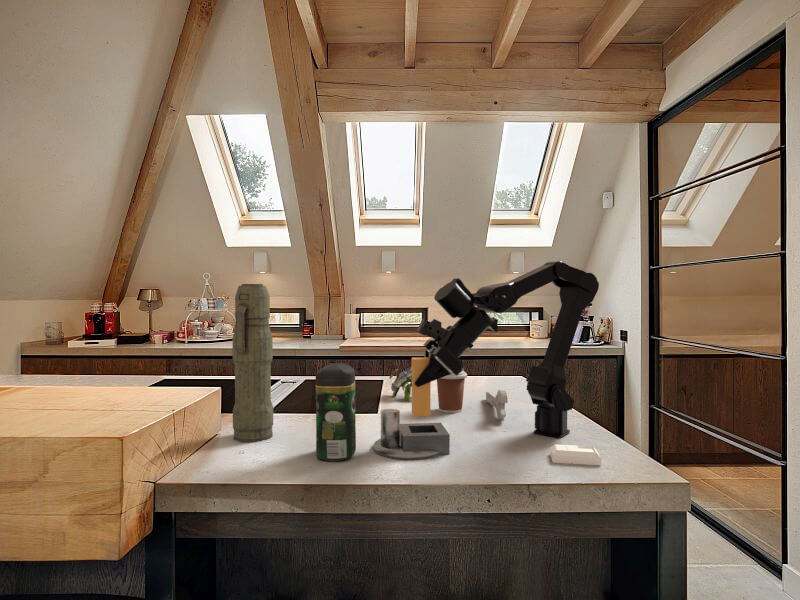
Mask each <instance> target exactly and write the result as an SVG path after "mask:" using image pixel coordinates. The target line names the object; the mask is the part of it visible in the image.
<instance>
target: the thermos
mask: <svg viewBox="0 0 800 600" xmlns="http://www.w3.org/2000/svg"><path fill="white" fill-rule="evenodd" d="M270 301H271V300H270V294H269V291H268V288H267V286H266V285H264V284H263V283H241V285H238V286H237V290H236V293H235V296H234V314H235V316H234V318H235V325H234V333H233V335H232V362H233V364H234V405H233V409H232V428H233V440H234V441H236V440H237V441H236V442H239V441H242V442H241V443H258V442H257V441H259V442H263V440H264V441H267V440H270V439H271V438H273V434H274V433H273V425H274V405H273V403H272V399H271V398H272V397H271V396H272V395H271V393H272V391H271V390H272V387H271V384H272V383H271V382H272V380H271V378H272V377H271V376H272V374H271V372H272V371H271V369H272V368H271V367H272V366H271V363H272V361H273V354H274V353H273V350H274V348H273V338H274V337H273V334H272V332H271V331H272V330H271V326H270V325H271V324H270V319H269V318H270V316H271V315H270V314H271V312H270V311H271V309H270V305H271V304H270Z"/></svg>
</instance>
